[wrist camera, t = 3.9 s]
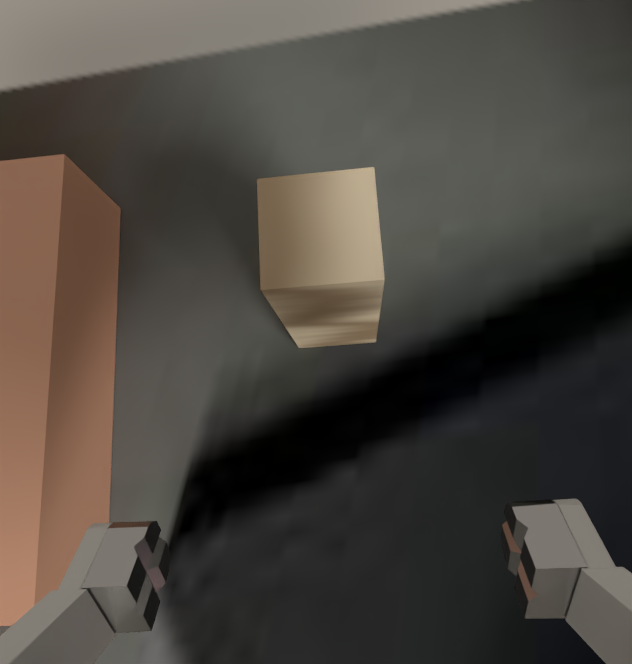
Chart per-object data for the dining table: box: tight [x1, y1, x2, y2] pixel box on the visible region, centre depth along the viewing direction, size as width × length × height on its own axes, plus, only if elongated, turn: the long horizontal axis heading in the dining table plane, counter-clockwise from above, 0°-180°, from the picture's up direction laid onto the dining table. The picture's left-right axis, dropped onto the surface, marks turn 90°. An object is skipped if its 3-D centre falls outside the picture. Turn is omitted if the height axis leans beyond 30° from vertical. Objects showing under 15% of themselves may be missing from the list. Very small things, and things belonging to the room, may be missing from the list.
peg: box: [257, 167, 385, 348], centre depth 21 cm, size 4×4×10 cm
